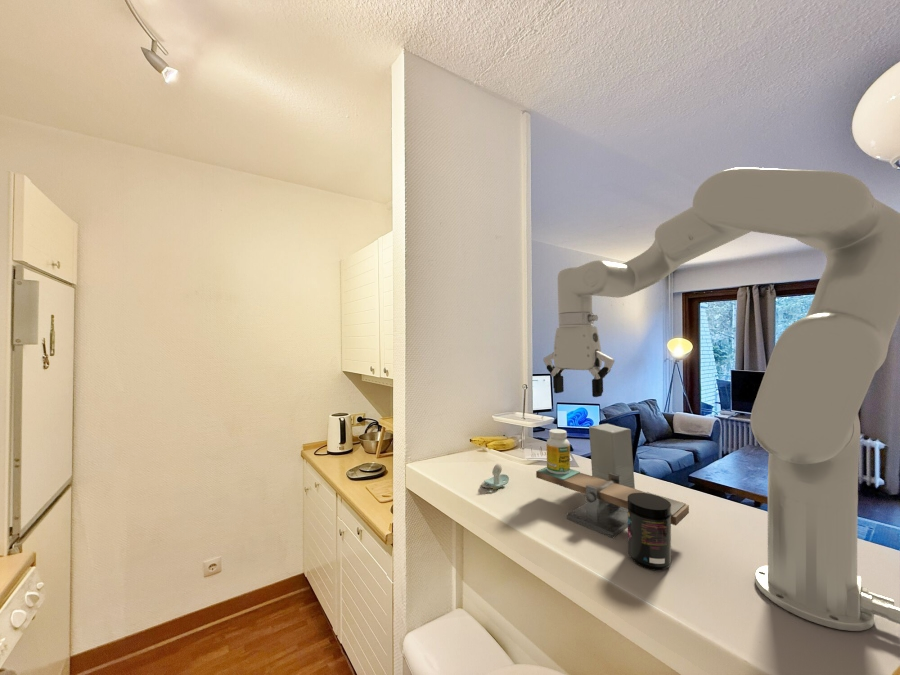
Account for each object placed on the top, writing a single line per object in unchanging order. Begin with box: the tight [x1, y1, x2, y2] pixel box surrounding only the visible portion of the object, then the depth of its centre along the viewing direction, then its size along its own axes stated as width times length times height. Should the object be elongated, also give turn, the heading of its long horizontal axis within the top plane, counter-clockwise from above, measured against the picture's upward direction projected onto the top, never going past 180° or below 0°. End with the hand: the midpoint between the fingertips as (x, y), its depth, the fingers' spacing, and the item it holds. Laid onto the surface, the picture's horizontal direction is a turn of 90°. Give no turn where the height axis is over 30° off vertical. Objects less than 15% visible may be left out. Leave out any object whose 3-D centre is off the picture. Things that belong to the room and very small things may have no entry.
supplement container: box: [627, 493, 672, 571], centre depth 65 cm, size 7×7×10 cm
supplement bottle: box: [546, 428, 571, 475], centre depth 88 cm, size 5×5×10 cm
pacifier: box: [480, 463, 510, 490], centre depth 97 cm, size 7×6×6 cm
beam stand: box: [566, 473, 628, 539], centre depth 80 cm, size 10×13×8 cm
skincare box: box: [588, 423, 636, 489], centre depth 95 cm, size 8×7×16 cm
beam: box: [535, 466, 690, 526], centre depth 80 cm, size 30×9×2 cm, turn 41°
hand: (577, 394), depth 86 cm, fingers open, 9 cm apart
